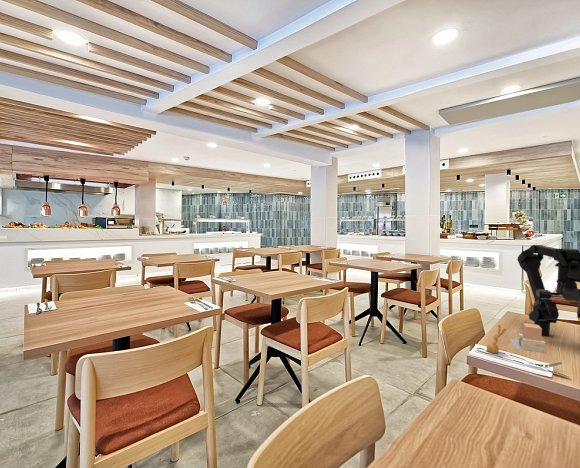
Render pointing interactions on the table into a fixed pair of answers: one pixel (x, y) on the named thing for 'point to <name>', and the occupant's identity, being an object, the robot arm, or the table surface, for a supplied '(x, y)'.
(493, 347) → the figurine
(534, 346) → the base brick
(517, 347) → the build plate
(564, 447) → the table surface
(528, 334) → the top brick
